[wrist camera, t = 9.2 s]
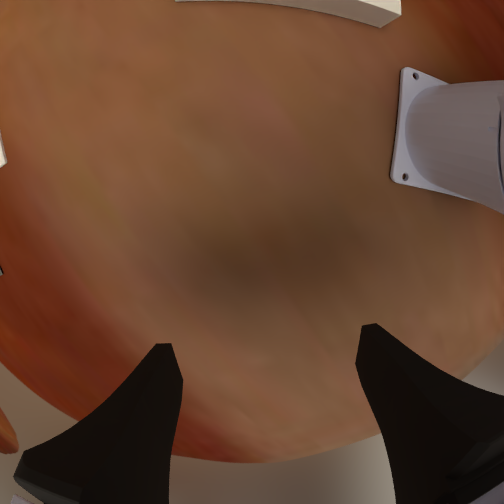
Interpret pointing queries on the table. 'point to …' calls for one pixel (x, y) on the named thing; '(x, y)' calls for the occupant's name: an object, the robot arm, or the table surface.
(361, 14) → the socket block
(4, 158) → the teal sliding drawer box
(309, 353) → the table surface
